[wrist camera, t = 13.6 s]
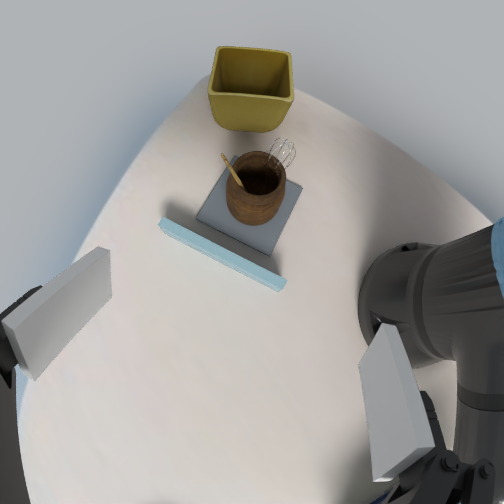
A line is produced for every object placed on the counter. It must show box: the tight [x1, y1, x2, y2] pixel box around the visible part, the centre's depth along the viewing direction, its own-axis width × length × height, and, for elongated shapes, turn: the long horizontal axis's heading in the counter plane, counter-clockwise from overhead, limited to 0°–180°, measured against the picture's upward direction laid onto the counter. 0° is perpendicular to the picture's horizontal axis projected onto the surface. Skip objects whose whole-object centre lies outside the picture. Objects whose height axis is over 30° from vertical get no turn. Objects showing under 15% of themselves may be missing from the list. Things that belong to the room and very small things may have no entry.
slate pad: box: [196, 156, 303, 256], centre depth 32 cm, size 9×9×1 cm
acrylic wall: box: [158, 217, 287, 291], centre depth 30 cm, size 14×1×3 cm, turn 63°
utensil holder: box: [221, 138, 296, 226], centre depth 26 cm, size 6×6×12 cm
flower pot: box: [208, 46, 294, 133], centre depth 31 cm, size 9×9×9 cm
